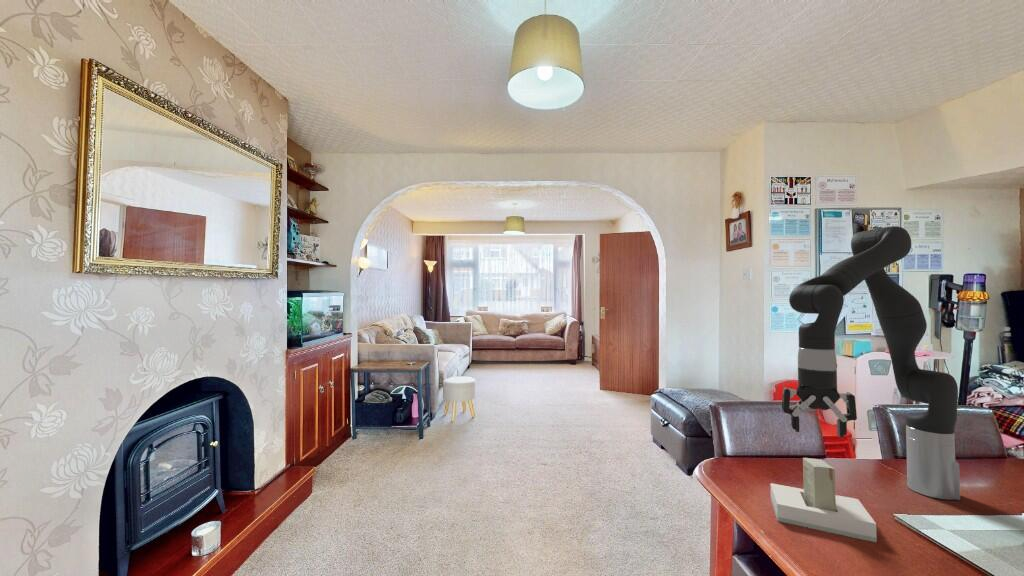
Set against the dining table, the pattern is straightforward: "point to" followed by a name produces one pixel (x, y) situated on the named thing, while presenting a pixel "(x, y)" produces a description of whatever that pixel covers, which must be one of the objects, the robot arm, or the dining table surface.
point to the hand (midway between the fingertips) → (818, 433)
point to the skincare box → (819, 484)
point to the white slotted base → (823, 514)
